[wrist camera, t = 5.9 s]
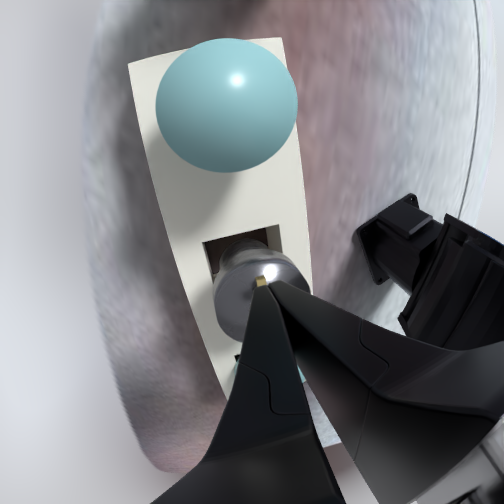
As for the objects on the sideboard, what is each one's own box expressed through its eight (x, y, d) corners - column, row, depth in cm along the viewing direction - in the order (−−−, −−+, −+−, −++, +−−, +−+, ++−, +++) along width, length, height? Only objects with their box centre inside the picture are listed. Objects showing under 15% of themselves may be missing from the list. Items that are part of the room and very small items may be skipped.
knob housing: (300, 348, 27) (315, 377, 23) (221, 369, 26) (228, 402, 22) (262, 52, 15) (281, 37, 12) (139, 75, 14) (127, 63, 11)
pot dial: (286, 284, 19) (314, 333, 15) (217, 303, 18) (228, 357, 14) (277, 219, 17) (310, 256, 12) (199, 237, 16) (205, 283, 12)
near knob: (272, 147, 15) (305, 159, 11) (176, 168, 14) (172, 187, 10) (257, 56, 13) (285, 32, 9) (156, 73, 12) (144, 54, 8)
